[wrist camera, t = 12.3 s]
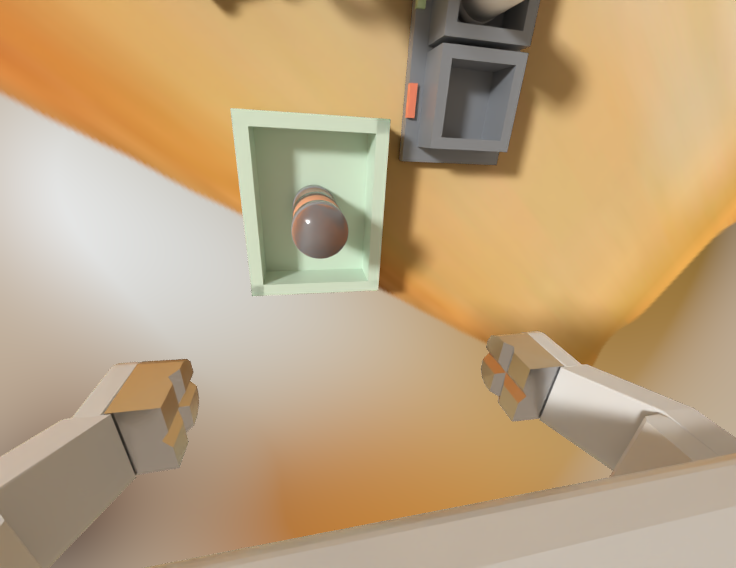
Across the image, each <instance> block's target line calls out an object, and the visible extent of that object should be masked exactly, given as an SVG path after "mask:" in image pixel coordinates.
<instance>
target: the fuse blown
mask: <svg viewBox="0 0 736 568" xmlns="http://www.w3.org/2000/svg"><path fill="white" fill-rule="evenodd" d="M348 233H349V230H348V224H347V221H346V219H345V217H344V215H343V213H342V212H341V210H340V209H339V207H338V205H337V204H336V201H335V199H334V197H333V196H332V194H331V193H330V192H329V191H328V190H327V189H326V188H324V187H322V186H319V185H308V186H305V187H303V188H301V189H300V190H299V191H298V192H297V193H296V195H295V197H294V200H293V215H292V226H291V234H292V239H293V241H294V244H295V245H296V247H297V248H298V249H299V250H300V251H301V252H302V253H303V254H305V255H307V256H309V257H312V258H316V259H324V258H329V257H331V256H334V255H335V254H337V253H338V252H339V251H340V250H341V249H342V248H343V247H344V246H345V244H346V242H347V239H348Z"/></svg>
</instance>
